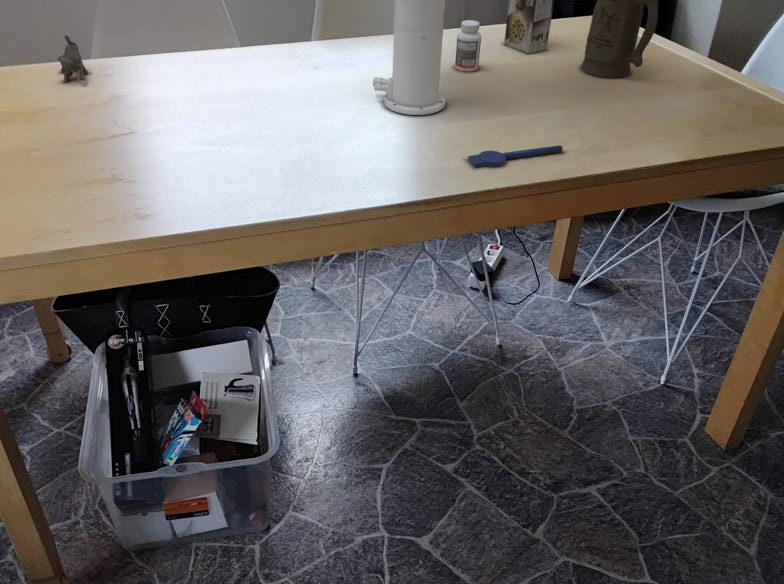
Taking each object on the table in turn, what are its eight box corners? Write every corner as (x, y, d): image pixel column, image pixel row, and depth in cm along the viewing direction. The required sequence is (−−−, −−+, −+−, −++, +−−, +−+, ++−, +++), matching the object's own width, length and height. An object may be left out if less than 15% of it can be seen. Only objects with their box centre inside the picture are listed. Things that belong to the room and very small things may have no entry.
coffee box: (547, 49, 176) (559, -24, 166) (528, 54, 174) (539, -20, 163) (521, 39, 182) (531, -32, 172) (502, 44, 179) (511, -29, 169)
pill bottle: (461, 62, 169) (466, 17, 162) (482, 67, 166) (487, 22, 160) (450, 68, 165) (454, 23, 159) (470, 73, 163) (475, 27, 157)
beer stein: (569, 68, 166) (592, -27, 152) (595, 57, 172) (620, -35, 158) (627, 91, 159) (657, -7, 145) (652, 79, 164) (684, -16, 151)
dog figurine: (61, 69, 162) (52, 34, 157) (88, 67, 163) (80, 32, 159) (59, 88, 153) (50, 52, 149) (88, 86, 155) (79, 50, 150)
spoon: (477, 169, 127) (477, 163, 126) (465, 158, 130) (466, 151, 129) (568, 156, 131) (569, 150, 130) (555, 146, 134) (556, 139, 134)
